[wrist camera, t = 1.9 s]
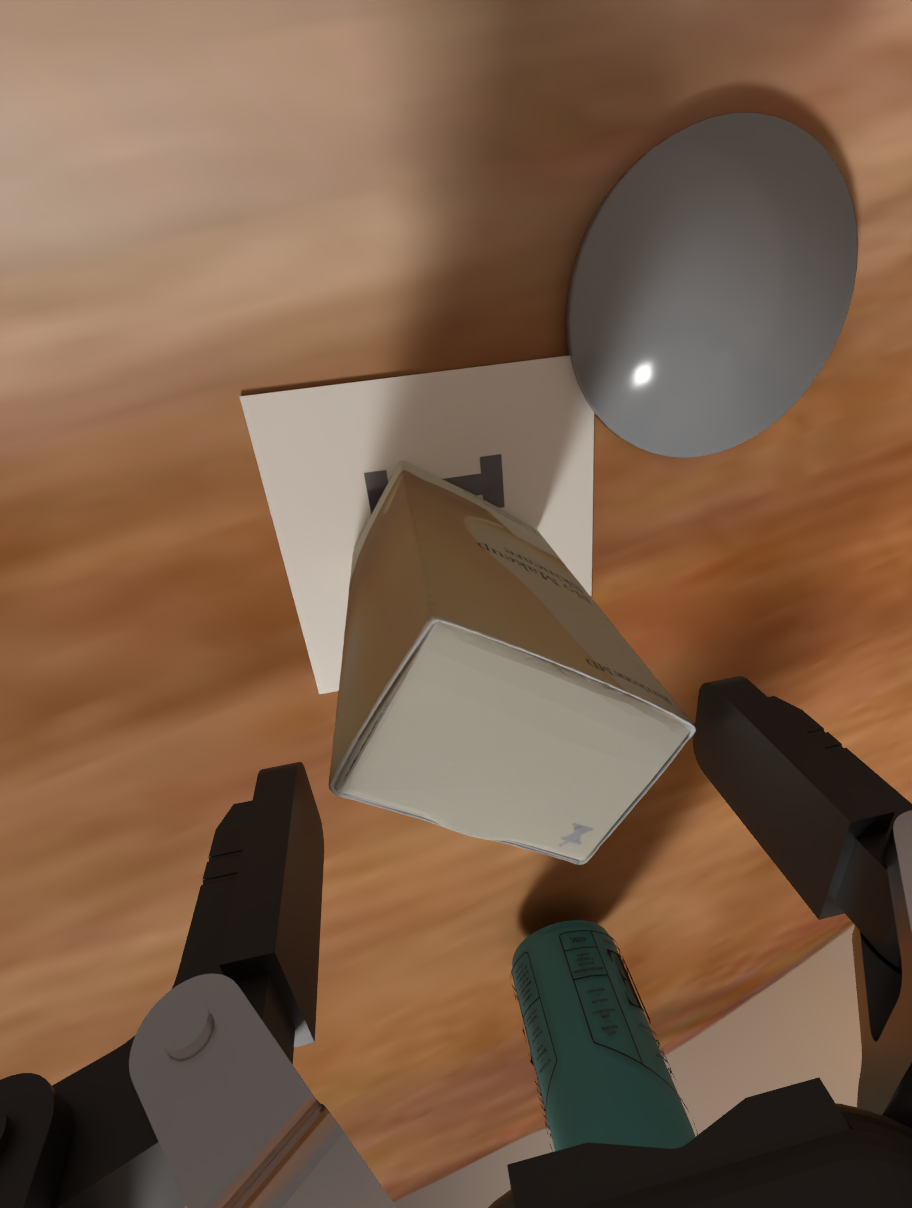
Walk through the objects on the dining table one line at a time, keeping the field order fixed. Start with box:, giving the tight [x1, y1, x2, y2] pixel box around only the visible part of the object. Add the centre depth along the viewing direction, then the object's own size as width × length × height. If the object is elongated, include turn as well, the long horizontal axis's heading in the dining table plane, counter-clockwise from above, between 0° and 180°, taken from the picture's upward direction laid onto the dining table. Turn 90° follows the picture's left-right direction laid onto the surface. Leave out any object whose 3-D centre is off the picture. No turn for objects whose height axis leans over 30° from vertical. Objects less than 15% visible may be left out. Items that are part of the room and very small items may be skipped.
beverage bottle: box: [511, 920, 695, 1151], centre depth 25 cm, size 6×7×20 cm
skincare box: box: [329, 461, 696, 865], centre depth 16 cm, size 6×4×12 cm
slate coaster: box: [566, 113, 858, 458], centre depth 19 cm, size 10×10×1 cm
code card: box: [240, 355, 594, 694], centre depth 21 cm, size 12×12×1 cm
